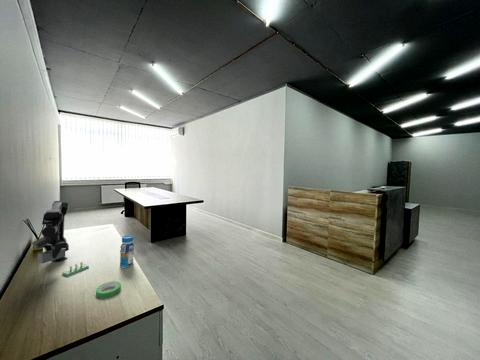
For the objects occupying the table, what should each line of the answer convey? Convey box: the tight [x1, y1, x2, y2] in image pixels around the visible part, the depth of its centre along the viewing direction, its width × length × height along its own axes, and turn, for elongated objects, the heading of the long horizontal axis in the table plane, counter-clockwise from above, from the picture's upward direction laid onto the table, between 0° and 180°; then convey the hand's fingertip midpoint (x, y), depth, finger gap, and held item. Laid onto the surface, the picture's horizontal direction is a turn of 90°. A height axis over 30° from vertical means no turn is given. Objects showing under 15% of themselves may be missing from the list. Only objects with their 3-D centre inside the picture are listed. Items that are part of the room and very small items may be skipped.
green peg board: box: [61, 261, 90, 277], centre depth 124 cm, size 5×12×4 cm, turn 160°
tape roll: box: [95, 280, 122, 299], centre depth 105 cm, size 11×11×3 cm
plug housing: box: [37, 248, 66, 264], centre depth 118 cm, size 5×11×5 cm, turn 159°
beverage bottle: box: [119, 235, 135, 269], centre depth 135 cm, size 8×8×20 cm
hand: (52, 257), depth 118 cm, fingers closed on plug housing, 5 cm apart
